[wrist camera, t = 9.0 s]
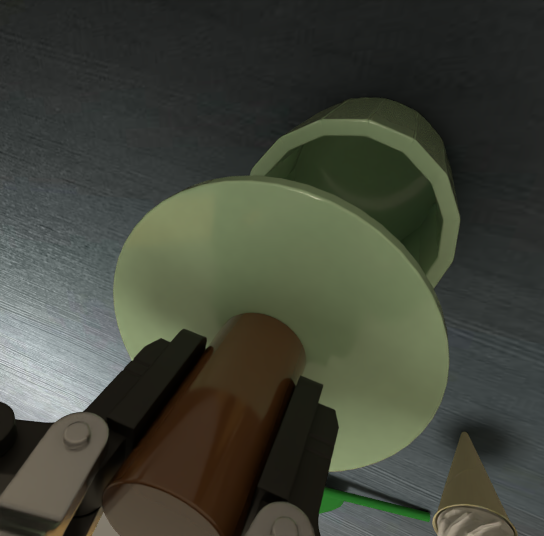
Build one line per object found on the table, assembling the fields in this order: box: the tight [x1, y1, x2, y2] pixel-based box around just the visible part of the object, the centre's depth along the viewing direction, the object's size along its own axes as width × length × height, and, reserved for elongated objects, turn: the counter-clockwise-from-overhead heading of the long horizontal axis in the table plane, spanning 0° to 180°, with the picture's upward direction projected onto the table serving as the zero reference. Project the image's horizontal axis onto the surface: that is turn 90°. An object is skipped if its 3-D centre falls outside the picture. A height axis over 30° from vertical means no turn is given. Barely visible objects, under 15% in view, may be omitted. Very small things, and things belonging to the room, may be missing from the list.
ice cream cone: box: [433, 432, 518, 536], centre depth 28 cm, size 5×5×15 cm
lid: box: [101, 176, 449, 536], centre depth 12 cm, size 11×11×7 cm
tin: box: [250, 97, 460, 289], centre depth 24 cm, size 10×10×8 cm
